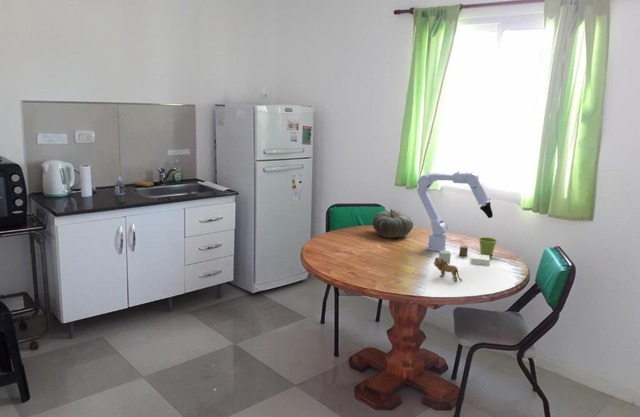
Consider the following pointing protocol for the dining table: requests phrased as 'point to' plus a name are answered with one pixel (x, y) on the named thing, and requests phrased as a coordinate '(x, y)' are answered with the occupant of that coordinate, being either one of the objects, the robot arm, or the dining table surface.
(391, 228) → the gourd
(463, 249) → the walnut block
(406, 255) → the dining table surface
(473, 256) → the cream block
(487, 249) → the plant pot
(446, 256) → the grey cube
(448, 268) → the lion figurine
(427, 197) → the robot arm
